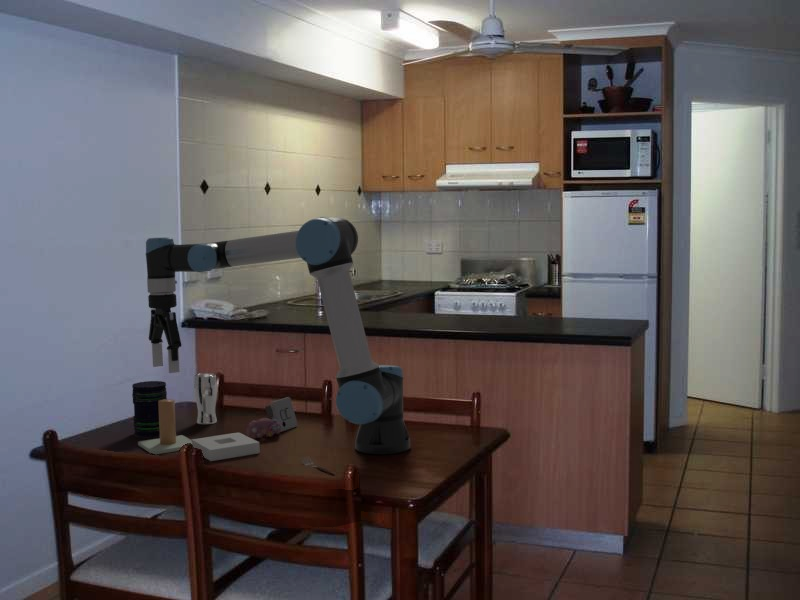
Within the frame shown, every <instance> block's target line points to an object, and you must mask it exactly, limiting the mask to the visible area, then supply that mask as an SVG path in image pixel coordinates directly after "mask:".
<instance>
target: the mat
mask: <svg viewBox="0 0 800 600" xmlns="http://www.w3.org/2000/svg"><path fill="white" fill-rule="evenodd" d="M187 443H191V444H192V439H190V438H188V437H187V436H185V435H183V434H180V435H176V443H175V444H171V445H162V444H160V437H159V438H153V439H147V440H140V441H137V446H139V447H140V448H142V449H143V450H145V451H147V452H148V453H149V454H151V453H153V454H155V455H160V454H161V455H162V454H166V453H167V454H168V453H172V452H173V453H174V452H180V451H179V450H180V448H181V447H182V446H183V445H185V444H187Z"/></svg>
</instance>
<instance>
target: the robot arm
mask: <svg viewBox="0 0 800 600" xmlns="http://www.w3.org/2000/svg"><path fill="white" fill-rule="evenodd" d="M358 243H359V235H358V232H357V228H356V227H355V225H354V224H353V223H352V222H350V221H349V220H347V219H345V218H343V217H338V216H334V217H325V216H324V217H323V216H321V217H316V218H313V219H310V220H308V221H305V223H304V224H303V225H302V226H301V227H300V228H299V230H294V231H293V230H292V231H286V232H279V233H271V234H266V235H259V236H258V235H257V236H251V237H250V236H249V237H243V238H237V239H229V240H222V241H214V242H203V243H191V244H190V243H187V244H185V243H184V244H175V241H174V238H173V237H150V238H147V239H146V241H145V258H146V259H145V261H146V272H147V278H146V279H147V280H146V285H147V286H146V287H147V293H149V295H148V296H147V297H148V298H147V299H148V308H149V309H150V323H149V332H148V341H150V343H151V356H152V368H155V367H156V368H158V367H163V366H164V359H163V358H164V357H163V356H164V354H163V339H162V337H163V332H164V335H165V339H166V342H167V345H168V346H166V350H167V357H168V359H167V361H168V362H167V363H168V373H169V374H175V373H180V372H181V371H180V356H179V355H180V353H179V349H180V348H181V347H182V341H181V336H180V331H179V327H178V323H177V314H176V312H175V311H172V310H171V308H172V309H173V308H175V307H176V306H178V305H177V303H178V302H177V294H176V293H175V292H176V289H177V288H176V284H178V281H177V280H176V273H178V272H181V273H182V272H188V273H189V272H190V273H205V272H211V271H212V270H217V269H218V270H219V269H226V268H231V267H239V266H246V265H247V266H248V265H252V264H253V265H255V264H256V265H257V264H262V263H269V262H270V263H271V262H279V261H285V260H294V259H302V260H303V262H305V263H306V265H307V268H308V273H309V275H310V276H312V278H315V279H316V281H317V284H318V288H319V291H320V295H321V300H322V303H323V307H324V311H325V316H326V319H327V323H328V328H329V331H330V335H331V340H332V343H333V347H334V351H335V356H336V359H337V362H338V366H339V370H338V371H337V374H336V376H335V379H336V382H337V386H338V391H337V393H336V395H335V396H336V397H335V405H336V408H337V411H338V412H339V414H340V415H341V417H343V418H344V419H345V420H347V422H350V423H352V424H353V425H354V424H355V425H359V427H358V429H357V434H356V437H355V441H354V445H355V446H354V447H355V450H356V451H357V452H359V453H363V454H367V455H368V454H370V455H392V454H393V455H394V454H399V453H404V452H406V451H408V450H409V449H410V448H411V439H410V436H409V433H408V429H407V427H406V423H405V421H404V375H403V369H402V367H401V366H398V365H388V364H378V363H377V362H375V361H373V359H372V356H371V352H370V349H369V348H370V347H369V344H368V339H367V337H366V336H367V335H366V332H365V327H364V324H363V319H362V317H361V313H360V308H359V305H358V304H359V303H358V301H357V298H356V297H357V296H356V293H355V289H354V285H353V282H352V277H351V272H350V270H351V269H352V266H353V265H354V261H353V257H352V255H353V254H354V252H355V251H356V249H357V247H358Z"/></svg>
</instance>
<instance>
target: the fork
mask: <svg viewBox="0 0 800 600" xmlns="http://www.w3.org/2000/svg"><path fill="white" fill-rule="evenodd" d="M300 459H301V461H302V463H303V465H304V466H309V465H311V466H310V467H311V468H314V469H317V470H319V471H320V472H322V473H325V474H328V475H331V476H333V477H334V476H336V474H334V473H333V472H331V471H329V470H328V469H325V468H323V467H320V466H316V465H314V462H313V461H312V459H311V458H310V456H309V455H305V456H300Z"/></svg>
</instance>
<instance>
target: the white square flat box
mask: <svg viewBox="0 0 800 600" xmlns="http://www.w3.org/2000/svg"><path fill="white" fill-rule="evenodd" d="M191 440H192V445H193V447H194V448H198V449H201V450H202V453H203V456H204V457H203V456H202V457H203V458H205V459H206V460H208V461H209V462H213V461H219V460H226V459H232V458H239V457H245V456H250V455H251V456H252V455H256V454H257V455H258V454H260V453H261V450H260V449H261V448H260V441H257V440H256V439H253V438H251V436H250V437H248V436H247V435H245V434H243V433H241V432H233V433H226V434H219V435H212V436H206V437H200V438H191Z"/></svg>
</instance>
